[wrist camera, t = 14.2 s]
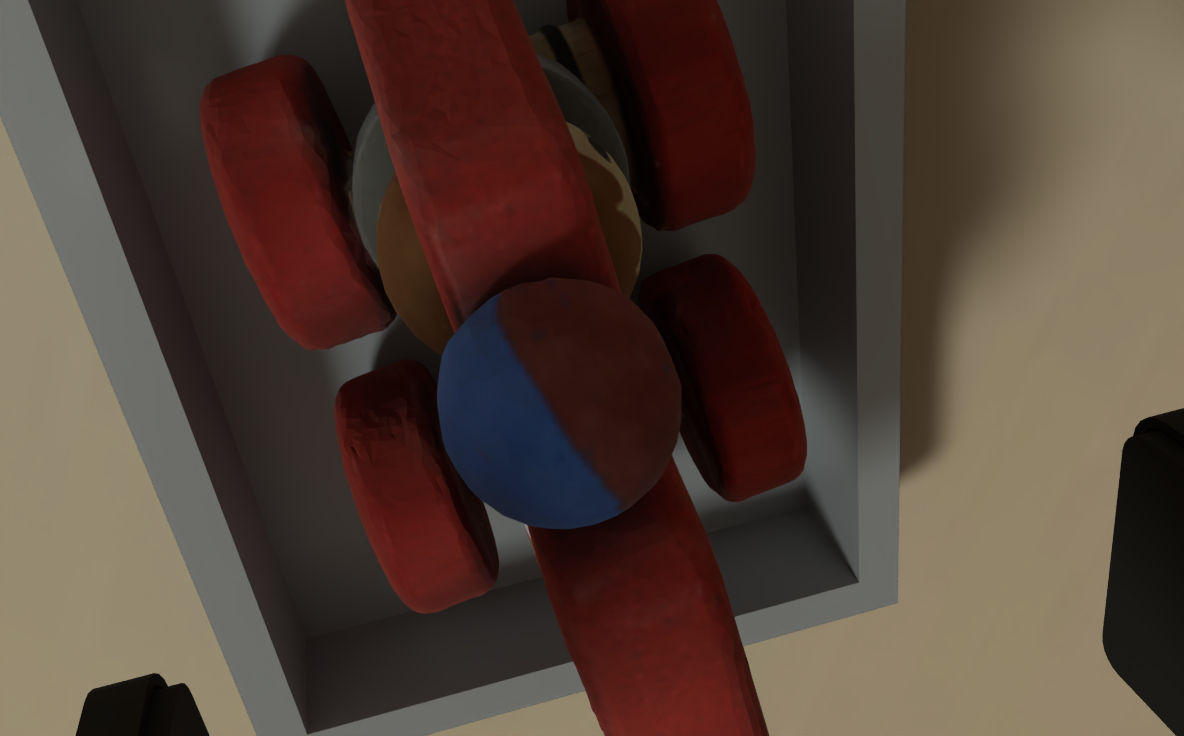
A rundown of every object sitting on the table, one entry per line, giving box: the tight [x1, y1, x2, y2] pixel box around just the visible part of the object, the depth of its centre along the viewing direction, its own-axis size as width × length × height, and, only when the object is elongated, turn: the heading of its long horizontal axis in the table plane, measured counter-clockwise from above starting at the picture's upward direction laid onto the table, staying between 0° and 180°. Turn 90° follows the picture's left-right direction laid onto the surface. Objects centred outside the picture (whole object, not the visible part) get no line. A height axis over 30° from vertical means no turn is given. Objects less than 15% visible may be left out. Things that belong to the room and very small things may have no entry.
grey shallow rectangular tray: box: [0, 0, 906, 736], centre depth 17 cm, size 17×12×3 cm
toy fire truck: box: [199, 0, 807, 736], centre depth 14 cm, size 7×12×10 cm, turn 15°
